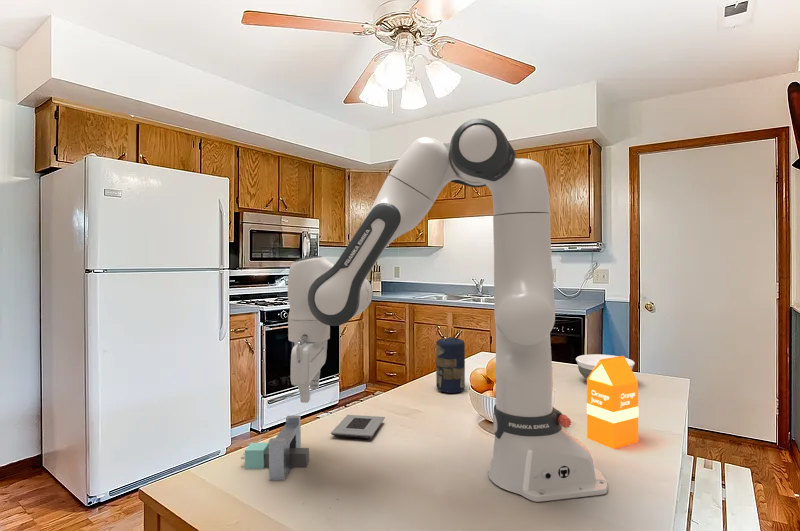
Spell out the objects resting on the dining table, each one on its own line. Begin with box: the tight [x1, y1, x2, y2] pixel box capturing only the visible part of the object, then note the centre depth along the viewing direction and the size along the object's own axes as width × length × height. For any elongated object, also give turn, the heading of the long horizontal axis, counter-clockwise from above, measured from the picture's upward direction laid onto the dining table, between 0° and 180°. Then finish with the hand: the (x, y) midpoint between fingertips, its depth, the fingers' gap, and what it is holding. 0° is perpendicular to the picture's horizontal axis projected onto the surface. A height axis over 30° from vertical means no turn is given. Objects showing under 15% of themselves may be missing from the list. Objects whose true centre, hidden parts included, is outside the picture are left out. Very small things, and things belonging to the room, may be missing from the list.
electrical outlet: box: [330, 414, 386, 439], centre depth 120 cm, size 13×10×2 cm
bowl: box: [575, 353, 636, 380], centre depth 161 cm, size 19×19×8 cm
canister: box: [435, 336, 466, 394], centre depth 154 cm, size 10×10×18 cm
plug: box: [240, 442, 310, 470], centre depth 101 cm, size 14×4×4 cm, turn 89°
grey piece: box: [268, 415, 302, 481], centre depth 101 cm, size 3×15×8 cm, turn 179°
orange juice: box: [586, 355, 639, 450], centre depth 112 cm, size 8×9×20 cm
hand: (310, 394), depth 101 cm, fingers open, 8 cm apart
